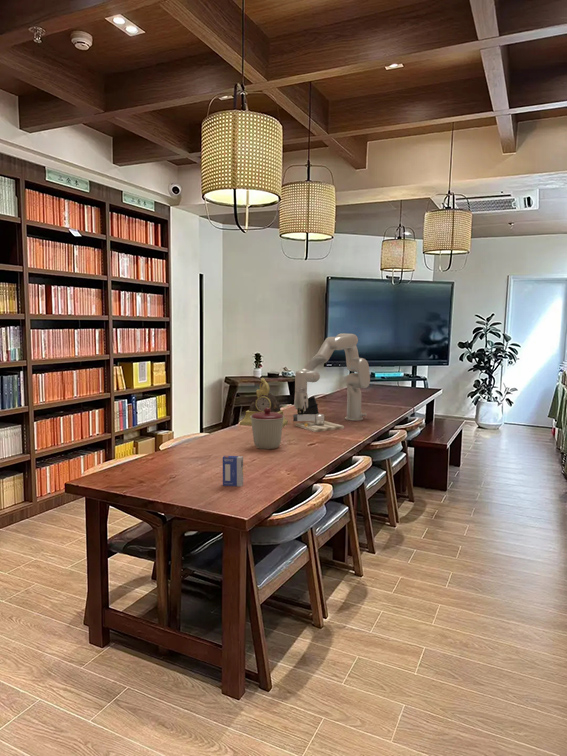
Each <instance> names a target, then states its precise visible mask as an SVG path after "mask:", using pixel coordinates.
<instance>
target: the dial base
mask: <svg viewBox="0 0 567 756" xmlns="http://www.w3.org/2000/svg"><path fill="white" fill-rule="evenodd" d="M294 426H295V427H298V428H301V429H305V430H307V431H310V432H314V433H319V432H325V431H335V430H341V429H345V426H344V425H342V424H338V423H334V422H330V421H327V420H324V425H316V424H315V421H303V422H295V424H294Z"/></svg>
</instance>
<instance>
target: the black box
mask: <svg viewBox="0 0 567 756" xmlns="http://www.w3.org/2000/svg"><path fill="white" fill-rule="evenodd" d="M318 406H319V404H318V403H317V400H316V396H314V395H312V396H311V397H308V408H307V409H306V411H304V413H303V414H320V412H319V407H318Z"/></svg>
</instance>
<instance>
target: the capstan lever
mask: <svg viewBox="0 0 567 756" xmlns="http://www.w3.org/2000/svg"><path fill="white" fill-rule="evenodd" d="M292 415H293V418H292V419H293V422H313V421H315V424H316V425H324V421H325V414H324V413H319V414H298V413H294V414H292Z"/></svg>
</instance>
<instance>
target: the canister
mask: <svg viewBox="0 0 567 756" xmlns="http://www.w3.org/2000/svg"><path fill="white" fill-rule="evenodd" d="M270 411H271V409H270V408H265V409H264V412H258V413H254V414H253V415H251V416H250V418H251V421H252V426H251V429H252V430H251V431H252V437H253V443H254V446H255V448H257V449H261V450H273V449H277V448H279V447H280V444H281V441H282V433H283V427H282V426H283V419H284V417H285V415H284V414H283V415H284V416H283V415H282V414H280V413H277V412H270Z"/></svg>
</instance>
